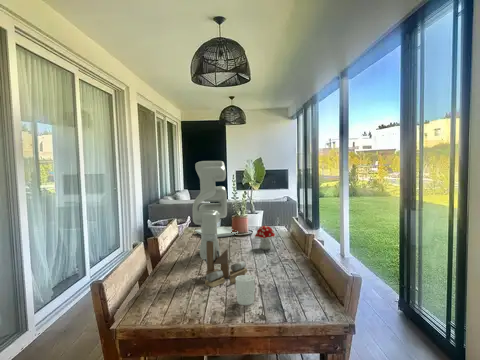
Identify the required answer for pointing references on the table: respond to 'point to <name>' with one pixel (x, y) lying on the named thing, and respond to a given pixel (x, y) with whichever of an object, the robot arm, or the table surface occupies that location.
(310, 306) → the table surface
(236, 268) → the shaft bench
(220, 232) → the square plate
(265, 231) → the decorative mushroom
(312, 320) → the table surface
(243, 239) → the table surface
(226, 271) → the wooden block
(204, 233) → the robot arm
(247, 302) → the white cup
